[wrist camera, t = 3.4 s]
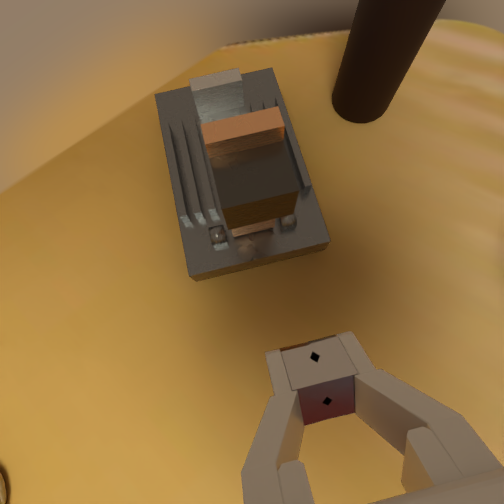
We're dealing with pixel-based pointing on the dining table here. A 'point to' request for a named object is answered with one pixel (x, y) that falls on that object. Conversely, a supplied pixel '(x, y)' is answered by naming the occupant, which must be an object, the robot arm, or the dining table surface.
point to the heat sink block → (203, 184)
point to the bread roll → (2, 490)
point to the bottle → (380, 54)
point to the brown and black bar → (251, 170)
